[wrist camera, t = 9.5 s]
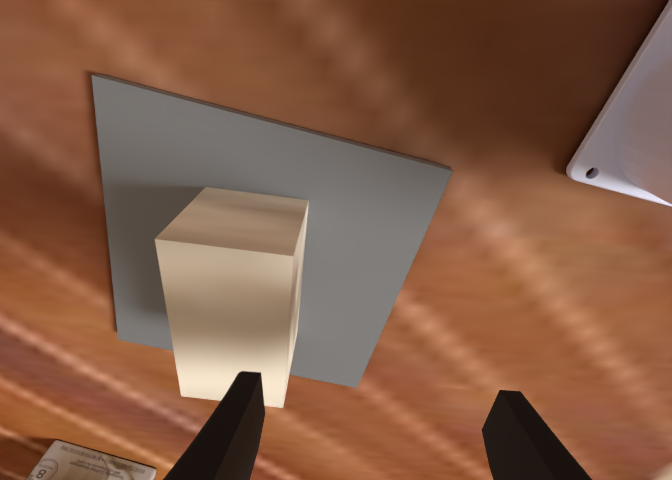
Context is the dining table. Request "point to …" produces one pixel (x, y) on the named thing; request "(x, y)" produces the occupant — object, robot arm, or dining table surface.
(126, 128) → the rubber mat
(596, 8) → the dining table surface
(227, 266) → the pale wooden block
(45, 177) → the dining table surface
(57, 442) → the coffee box
